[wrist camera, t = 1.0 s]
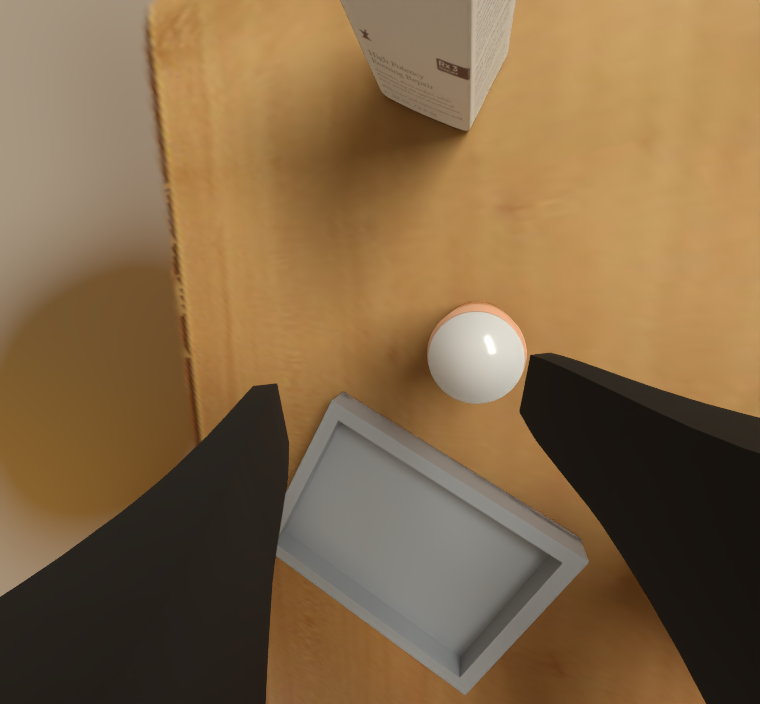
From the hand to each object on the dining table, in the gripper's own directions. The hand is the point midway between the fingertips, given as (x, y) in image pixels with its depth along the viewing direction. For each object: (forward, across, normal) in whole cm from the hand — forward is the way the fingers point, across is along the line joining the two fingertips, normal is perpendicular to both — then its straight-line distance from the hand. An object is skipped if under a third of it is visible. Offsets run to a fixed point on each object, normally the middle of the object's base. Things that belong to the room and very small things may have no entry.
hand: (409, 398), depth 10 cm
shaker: (+10, -7, +4) cm, 13 cm away
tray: (+8, -2, +18) cm, 20 cm away
